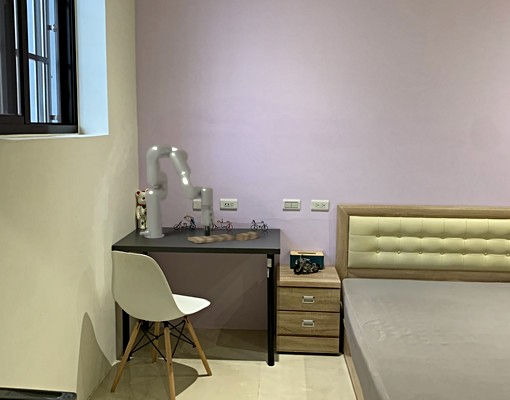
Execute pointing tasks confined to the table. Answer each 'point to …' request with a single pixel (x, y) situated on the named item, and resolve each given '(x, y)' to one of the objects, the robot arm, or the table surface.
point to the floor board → (223, 237)
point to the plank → (202, 239)
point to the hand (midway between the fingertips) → (207, 236)
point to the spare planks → (247, 236)
